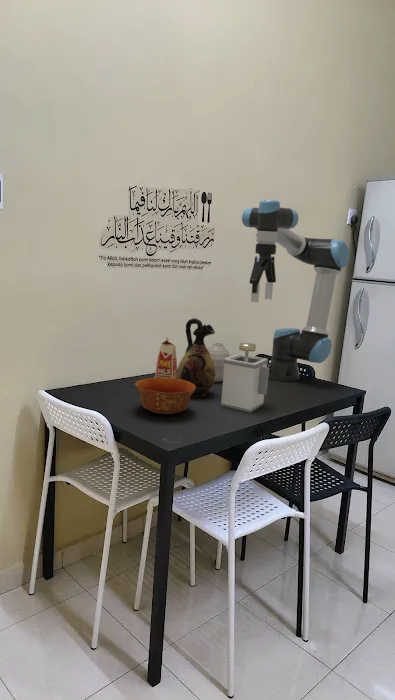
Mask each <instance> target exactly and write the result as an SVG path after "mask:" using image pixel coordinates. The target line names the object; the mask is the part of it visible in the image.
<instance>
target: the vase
mask: <svg viewBox="0 0 395 700" xmlns="http://www.w3.org/2000/svg"><path fill="white" fill-rule="evenodd" d="M207 349H208V351H209V353H210V355H211V358H212V360H213V362H214V366H215V374H216V376H215V381H214V383H217V382H218V383H219V382H223V376H224V360H225V359H226V358H229V357H231V354H230V352H229V350H228V349H227V348H226V347H225V346H224V345H223V343H222V342H219V341H218V342H217V341H214V342H213V343H212V345H210V346H209V347H208V348H207Z"/></svg>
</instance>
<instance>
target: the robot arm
mask: <svg viewBox="0 0 395 700" xmlns="http://www.w3.org/2000/svg"><path fill="white" fill-rule="evenodd" d="M280 203H281V202H280V201H279V200H277V199H262V200H260V201H259V203H258V207H248V208H245V209H244V210H243V211H242V215H241V222H242V224H243V226H244V227H247V228H250V229H251V228H253V229H256V230H257V231H256V234H255V236H256V242H257V243H256V244H255V251H254V252H255V254H258V256H255V257H254V261H253V262H254V263H253V267H252V270H251V274H250V278H249V284H252V285H251V293H250V294H251V295H250V303H259V298H260V288H261V285H260V282H261V281H260V280H261V279H262V276H263V273H264V275H265V278H266V281H265V290H264V300H271V301H272V299H273V290H274V283H276V281H277V280H276V279H277V278H276V277H277V276H276V267H275V265H276V264H275V256H274V255H276V254H277V252H276V251H277V245H276V244H278V245H280V246H281V247H283V248H284V249H285V250H286V252H287V254H289V255H290V256H292V257H293V258H294V259H296V260H298V261H300V262H302V263H304V264H306V265H312V266H313V270H314V272H315V273H316V274H315V278H314V283H313V284H314V285H313V289H312V294H311V299H310V300H311V301H310V306H309V310H308V315H307V321H306V324H305V325H306V326H305V327H303V328H302V329H299V328H279V329H275V331H274V333H273V337H272V339H273V341H272V352H271V361H270V363H269V365H268V366H267V368H269V376H268V379H271V380H274V381H280V382H297V381H299V380H300V371H299V367H298V366H299V365H298V360H303V361H305V362H310V363H314V364H315V363H316V364H321V363H323V362H325V361H326V360H327V359H328V357H329V355H330V354H331V351H332V348H333V347H332V345H333V343H332V340H331V339H330V338H329V333H328V332H327V325H328V320H329V314H330V310H331V304H332V300H333V294H334V290H335V284H336V279H337V275H339V274H340V273H341V272H342V269H343V268H345V267H347V265H348V264H349V259H350V251H349V247H348V244H347V243H346V241H344V240H343V239H337V238H316V237H315V238H313V237H311V238H310V237H305V236H304V235H302V234H297V233H295V232H294V231H292V230H291V229H294V228H295V227H296V226H297V225H298V222H299V214H298V212H297V210H295V209H293V208H290V207H287V208H286V207H281V204H280Z"/></svg>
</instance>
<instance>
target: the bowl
mask: <svg viewBox="0 0 395 700" xmlns="http://www.w3.org/2000/svg"><path fill="white" fill-rule="evenodd" d="M134 387H136V389H137V392H138V393H139V398H140V404H141V406H142V408H143V409H146V410H147V411H150V412H152V413H156V414H160V415H174V414H179V413H182V412H183V411H186V409H187V408H188V407H189V406H188V405H189V402H190V399H191V398H192V397H191V395H192V393H193V392H194V391H195V389H196V386H195V385H194V384H193V383H190V382H188V381H185V380H181V379H173V378H154V377H150V378H144V379H140V380H137V381H135V385H134Z"/></svg>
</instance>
